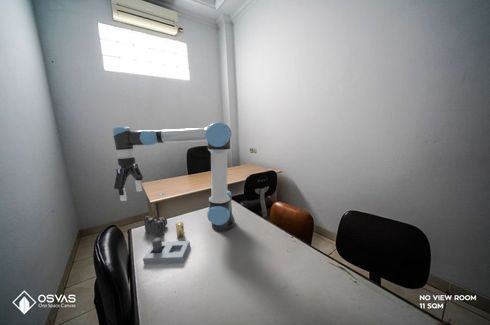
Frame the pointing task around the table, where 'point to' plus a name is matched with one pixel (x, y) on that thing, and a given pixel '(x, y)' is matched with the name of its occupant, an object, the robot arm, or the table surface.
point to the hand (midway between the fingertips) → (132, 195)
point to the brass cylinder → (180, 230)
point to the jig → (166, 252)
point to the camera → (155, 225)
